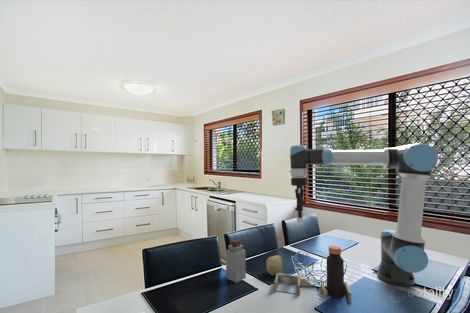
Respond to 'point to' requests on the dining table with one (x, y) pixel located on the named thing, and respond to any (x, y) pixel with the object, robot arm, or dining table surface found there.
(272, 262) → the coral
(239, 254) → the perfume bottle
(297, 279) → the comb rack
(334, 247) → the vinegar
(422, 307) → the dining table surface
